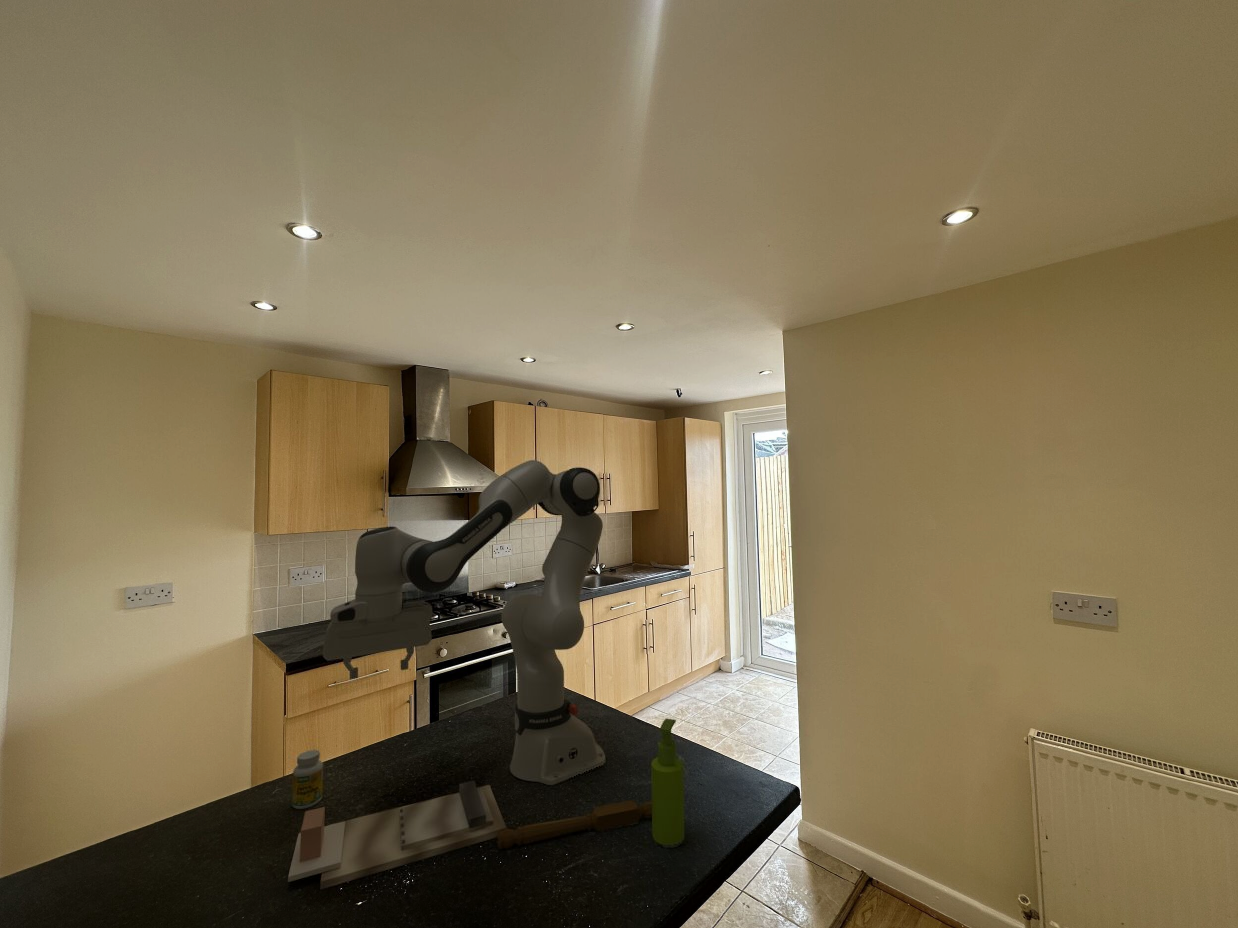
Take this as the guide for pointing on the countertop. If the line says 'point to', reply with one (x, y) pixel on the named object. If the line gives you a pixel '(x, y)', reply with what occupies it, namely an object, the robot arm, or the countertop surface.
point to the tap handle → (578, 823)
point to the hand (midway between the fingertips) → (379, 673)
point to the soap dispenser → (667, 790)
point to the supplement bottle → (307, 780)
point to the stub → (317, 846)
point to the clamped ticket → (416, 832)
